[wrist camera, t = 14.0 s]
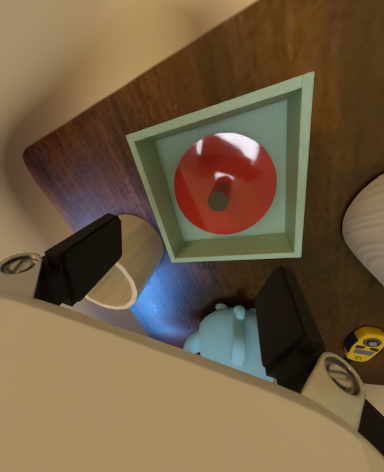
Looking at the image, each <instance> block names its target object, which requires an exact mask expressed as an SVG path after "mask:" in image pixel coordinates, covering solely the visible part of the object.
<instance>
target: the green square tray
mask: <svg viewBox="0 0 384 472" xmlns="http://www.w3.org/2000/svg"><path fill="white" fill-rule="evenodd" d="M313 84H314V71H313V72H310V73H307V74H304V75H301V76H298V77H295V78H292V79H289V80H286V81H283V82H280V83H278V84H275V85H272V86H269V87H266V88H263V89H260V90H257V91H254V92H251V93H248V94H245V95H243V96H240V97H237V98H234V99H231V100H228V101H225V102H222V103H219V104H216V105H213V106H210V107H208V108H205V109H202V110H199V111H196V112H193V113H190V114H187V115H184V116H181V117H178V118H175V119H172V120H170V121H167V122H164V123H161V124H158V125H155V126H152V127H149V128H146V129H143V130H140V131H137V132H135V133H132V134H129V135H126V138H127V141H128V144H129V146H130V149H131V152H132V155H133V157H134V160H135V163H136V166H137V168H138V171H139V174H140V177H141V179H142V182H143V185H144V188H145V190H146V193H147V196H148V199H149V201H150V204H151V207H152V210H153V212H154V215H155V218H156V221H157V223H158V226H159V229H160V232H161V235H162V237H163V240H164V243H165V246H166V248H167V251H168V254H169V257H170V259H171V262H172V263H176V262H198V261H223V260H247V259H271V258H293V257H294V258H296V257H301V251H302V237H303V223H304V209H305V195H306V181H307V167H308V153H309V140H310V126H311V112H312V98H313ZM221 132H233V133H239V134H242V135H245V136H248V137H250V138H252V139H253V140H255V141H256V142H258V143H259V144H260V145H261V146H262V147H263V148H264V149H265V150H266V151H267V153H268V154H269V156H270V157H271V159H272V161H273V164H274V167H275V170H276V176H277V186H276V193H275V197H274V200H273V202H272V204H271V206H270V208H269V210H268V211H267V213H266V214H265V215H264V216H263V217H262V218H261V219H260V220H259V221H258V222H257V223H256V224H255V225H253V226H251V227H250V228H248V229H246V230H244V231H241V232H238V233H234V234H226V235H224V234H213V233H209V232H206V231H204V230H202V229H200V228H198V227H196V226H195V225H193V224H192V223H191V222H190V221H189V220H188V219H187V218H186V217H185V216H184V214H183V213H182V211H181V210H180V208H179V206H178V204H177V201H176V197H175V192H174V177H175V173H176V169H177V166H178V164H179V162H180V160H181V158H182V157H183V155H184V154H185V152H186V151H187V150H188V149H189V148H190V147H191V146H192V145H193V144H194V143H196V142H197V141H199V140H200V139H202V138H204V137H206V136H208V135H212V134H215V133H221Z"/></svg>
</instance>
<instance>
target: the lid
mask: <svg viewBox="0 0 384 472" xmlns="http://www.w3.org/2000/svg"><path fill="white" fill-rule="evenodd" d="M276 186H277V176H276V170H275V167H274V164H273V161H272V159H271V157H270V156H269V154H268V153H267V151H266V150H265V149H264V148H263V147H262V146H261V145H260V144H259V143H258V142H256V141H255V140H253V139H252V138H250V137H248V136H245V135H242V134H239V133H233V132H221V133H215V134H212V135H208V136H206V137H204V138H202V139H200V140H199V141H197V142H196V143H194V144H193V145H192V146H191V147H190V148H189V149H188V150H187V151H186V152H185V154H184V155H183V157H182V158H181V160H180V162H179V164H178V166H177V169H176V173H175V177H174V192H175V197H176V201H177V204H178V206H179V208H180V210H181V211H182V213H183V214H184V216H185V217H186V218H187V219H188V220H189V221H190V222H191V223H192V224H193V225H195V226H196V227H198V228H200V229H202V230H204V231H206V232H209V233H213V234H224V235H226V234H234V233H238V232H241V231H244V230H246V229H248V228H250V227H251V226H253V225H255V224H256V223H257V222H258V221H259V220H260V219H261V218H262V217H263V216H264V215H265V214H266V213H267V211H268V210H269V208H270V206H271V204H272V202H273V200H274V197H275V193H276Z"/></svg>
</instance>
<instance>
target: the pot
mask: <svg viewBox="0 0 384 472" xmlns="http://www.w3.org/2000/svg"><path fill="white" fill-rule="evenodd" d="M118 217H119V219H120V220H121V225H122V256H121V258H120V259H119V261H118V262H117V263H116V264H115V265H114V266H113V267H112V268H111V269H110V270H109V271H108V272H107V273H106V274H105V276H104V277H103V278H102V279H101V280H100V281H99V282H98V283H97V284H96V285H95V286H94V287H93V288H92V289H91V291H90V292H89V293H88V294H87V295H86V296H85V297H86V298H87V299H89V300H90V301H91V302H94V303H96V304H98V305H100V306H103V307H106V308H111V309H116V310H117V309H127V308H129V307H130V306H132V305H133V304H134V303H135V302H136V301H137V299H138V298H139V296H140V294H141V293H142V291H143V290H144V288H145V286H146V285H147V283H148V282H149V280H150V278H151V277H152V275H153V274H154V272H155V270H156V269H157V267H158V266H159V264H160V262H161V260H162V258H163V255H164V245H163V242H162V239H161V237H160V235H159V234H158V232H157V231H156V230H155V228H154V227H153V226H151V225H150V224H149V223H148V222H146V221H145V220H143V219H141V218H139V217H137V216H133V215H128V214H123V215H118Z"/></svg>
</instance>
